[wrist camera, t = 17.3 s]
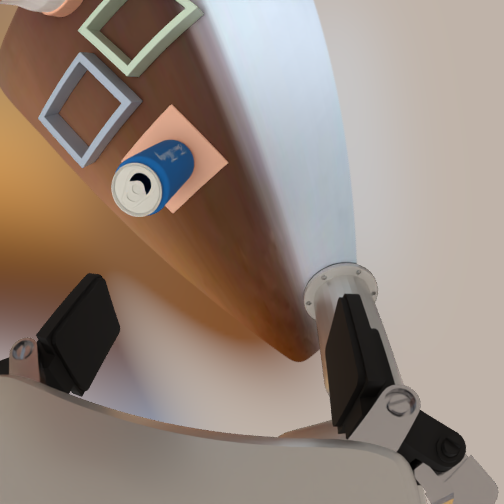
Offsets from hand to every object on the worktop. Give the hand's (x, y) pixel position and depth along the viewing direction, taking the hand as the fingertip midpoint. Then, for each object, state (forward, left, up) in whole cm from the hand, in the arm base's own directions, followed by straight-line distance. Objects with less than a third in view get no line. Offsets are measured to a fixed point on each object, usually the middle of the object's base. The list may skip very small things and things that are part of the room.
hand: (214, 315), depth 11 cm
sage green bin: (+25, -2, -29) cm, 38 cm away
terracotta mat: (+7, +9, -29) cm, 31 cm away
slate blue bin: (+22, +12, -29) cm, 38 cm away
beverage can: (+7, +9, -29) cm, 31 cm away
